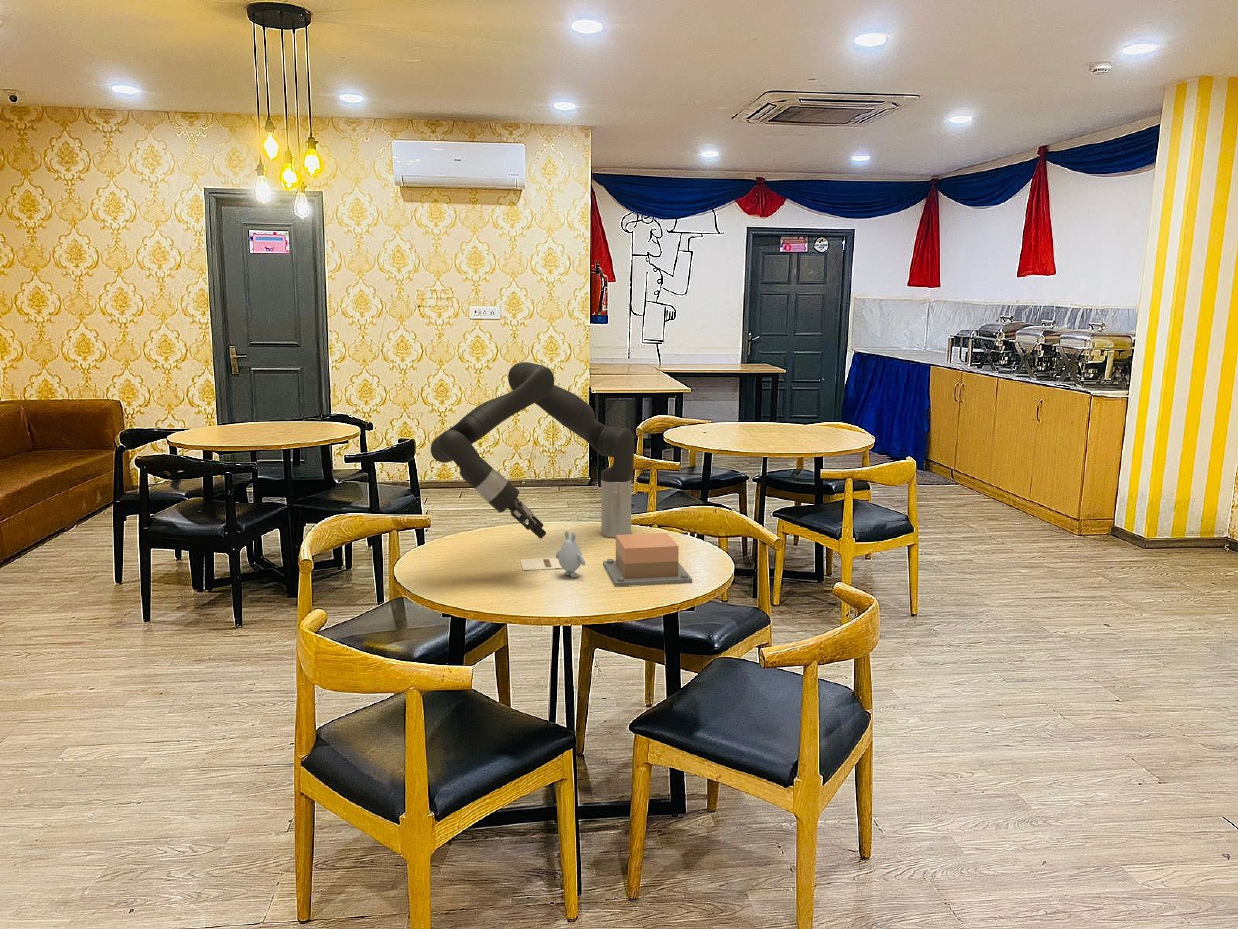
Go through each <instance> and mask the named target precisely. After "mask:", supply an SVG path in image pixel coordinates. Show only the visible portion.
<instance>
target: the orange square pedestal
mask: <svg viewBox="0 0 1238 929" xmlns="http://www.w3.org/2000/svg"><path fill="white" fill-rule="evenodd" d="M679 548H680V547H679V545H678V544H677V542H676V541H674V539H673V538H672V537H671V535H669V534H668V533H667V532H654V533H631V534H627V535H616V538H615V559H613V558H607V559H606V560H604V561H602V565H603V568H604V569H605V571H606V573H607V572H608V573H607V575H608V576H609V579H610V580H611V582H612V583H613V585H615V586H614V587H615V588H617V587H616V586H621V587H632V586H631V585H640V586H656V585H655V584H659V585H666V584H665V583H669V584H668V585H675V583H677V584H693V578H692V577H691V575H690V574H689V573H688V572H687V570H685V568H684V566H682V564H680V562H679V554H680V553H679V551H680V550H679ZM670 583H672V584H670ZM629 585H630V586H629Z"/></svg>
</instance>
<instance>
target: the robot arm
mask: <svg viewBox="0 0 1238 929" xmlns="http://www.w3.org/2000/svg"><path fill="white" fill-rule="evenodd" d="M507 380H508V385H509V386H510V389H511V390H510V391H509V392H507V393H505V394H503V395H500V396H498V397H495V398H492V399H489V400H487V401H485V402H482V403H481V404H480V405H477V406H476V407H475V408H474V409H471V411H469V412H468V413H467V414H466V415H464V416H463V417H462V418H461V419H460V420H459V421H458V422H457V423H456V424H454V425H453V426H452V427H450V428H448V429H446V430H445V431H444V432H442V433H441V434H440V435H438V436H437V437H435V438H434V440H432V443H431V444H430V454H431V456H432V458H433V460H435V461H436V462H438V463H442V464H443V463H444V464H446V463H451V462H454V463H455V464H456V466H457V467H458V468H459V476H461V479H463V480H464V481H465V482H466V483H467V484H468V485H469V486H470V487H471V488H472V489H474V490H475V492H476V493H477V494H478V495H479V496H480V497H482V499H484V501H486V502H487V503H488V504H489V505H490V506H491V508H493V509H495V511H497V512H498V513H503V512H505V511H506V510H509V512H510V516H511V517H513V518H514V519H515V520H516V521H517V522H518V523H519V524H521V525H522V527H524V528H525V529H526V530H527V531H530V532H532V533H533V534H534V535H535V536H536V537H537V538H539V539H543V538H544V537H545V536H546V535H547V532H546V531H545V529H543V527H544V523H543V522H542V521H540V520H539V519H538V517H536V516H535V515H534V512H533V511H532V510H531V509H530V508H529V506H527V505H526V504H525V503H524V501H521V500H519V498H518V497H519V496H520V490H519V489H518V488H517V487H516V486H515V485H513V484H512V483H511V482H510V481H509V480H508V479H507V478H505V476H504V475H503V474H501V473H500V472H499V471H497V470H496V469H494V468H493V467H492V466H491V465H490V464H489V463H488V462H487V461H486V460H485V459H483V458H482V457H481V456H480V454H479V453H478V451H477V449H476V448H475V446H474V445H473V444H474V443H476V442H477V441H479V440H481V439H483V438H484V437H485V436H486V435H487V434H489V433H490V432H491V431H492V430H493V429H495V428H496V427H497V426H499V425H501V423H503V422H504V421H506V420H508V419H509V418H511V417H512V416H514V415H516V414H517V413H519V412H521V411H523V410H524V409H526V408H528V407H530V406H532V405H534V404H535V405H536V406H538V407H539V408H541V409H542V410H543V411H544V412H545V413H547V415H549V416H551V418H553V419H554V420H556V421H557V422H559V423H560V424H561V425H562V426H564V427H565V428H566V429H568V430H570V431H571V432H573V433H574V434H575V435H576V436H578V437H580V438H581V439H583V440H584V441H585V442H587V443H588V444H589V446H590V447H592V448H593V449H594V450H595V451H596V452H597V453H598V454H600V455H601V456H603V457H608V458H613V463H612V466H610V467H607V468H604V469H602V470H601V473H600V490H601V491H600V496H601V497H600V498H601V499H600V500H601V501H600V508H601V509H600V511H601V514H600V518H601V521H600V522H601V523H600V525H601V528H600V529H601V530H600V532H601V535H602V536H603V537H606V538H615V539H616V535H627V534H632V474H633V471H634V465H635V464H634V461H635V460H634V459H635V436H634V434H633V432H632V431H631V430H630V429H629V428H626V427H617V426H608V425H605V424H603V423H601V422H600V421H598V420H597V419H596V416H595V411H594V410H593V408H592V406H591V405H590V404H589V403H587V402H586V401H585V400H584V399H582V398H581V397H580V396H578V395H577V394H575V393H574V392H571V391H569V390H567V389H565V388H562V387H560V386H557V385H556V384H555V377H554V372H553V371H552V370H551V369H550V368H549V367H547V366H545V365H543V364H538V363H533V362H526V361H522V362H517V363H516V364H514V365H513V366H512V367H510V368H509V371H508V376H507ZM527 522H528V523H527Z"/></svg>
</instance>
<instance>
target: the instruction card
mask: <svg viewBox="0 0 1238 929" xmlns="http://www.w3.org/2000/svg"><path fill="white" fill-rule="evenodd" d="M520 564H521V568H522V571H523V572H525V571H524V570H531V571H543V570H542V569H551V570H556V569H555V568H562V567H561V565H560V564H559V559H556V557H551V558H549V557H547V558H528V559H526V558H525V559H520Z"/></svg>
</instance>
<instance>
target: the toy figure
mask: <svg viewBox="0 0 1238 929" xmlns="http://www.w3.org/2000/svg"><path fill="white" fill-rule="evenodd" d="M564 538H565V540H564V541H563V543H562V546H561V547H560V550H558V551H557V552H556V554H555V558H556V559H559V564H560V565H561V567H562V568H563V569H562V570H564V571H565V572H564V575H565V576H566V575H570V576H569V577H571V578H578V576H579V574H578V573H577V572H576V570H578V569H579V568H580V567H581V565H582V566H585V565H586V560H585V559H584V557H583V555H582V554H583V553H582V550H581V549H580V546H579V544H578V543H577V540H576V538H577V537H576V533H575V532H571V537H570V533H569V531H568V530H566V531H565V532H564Z"/></svg>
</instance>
